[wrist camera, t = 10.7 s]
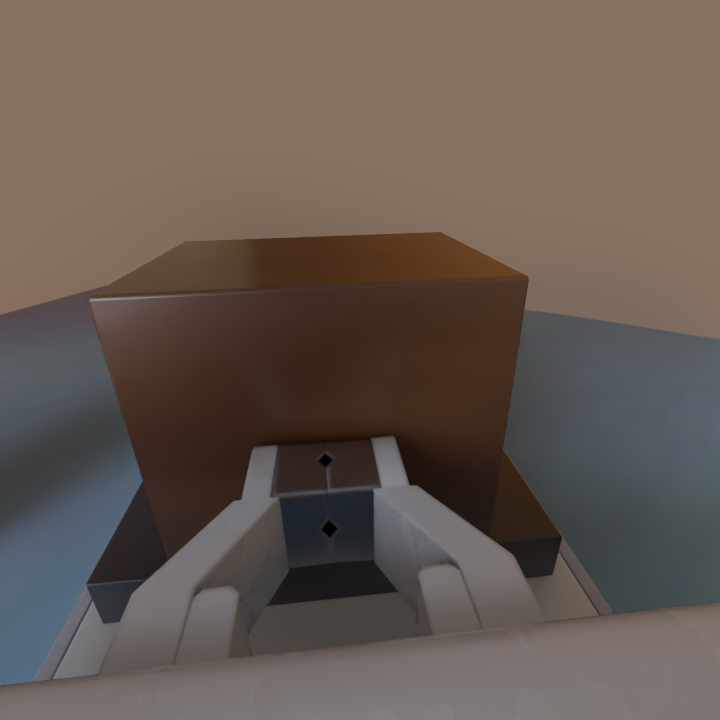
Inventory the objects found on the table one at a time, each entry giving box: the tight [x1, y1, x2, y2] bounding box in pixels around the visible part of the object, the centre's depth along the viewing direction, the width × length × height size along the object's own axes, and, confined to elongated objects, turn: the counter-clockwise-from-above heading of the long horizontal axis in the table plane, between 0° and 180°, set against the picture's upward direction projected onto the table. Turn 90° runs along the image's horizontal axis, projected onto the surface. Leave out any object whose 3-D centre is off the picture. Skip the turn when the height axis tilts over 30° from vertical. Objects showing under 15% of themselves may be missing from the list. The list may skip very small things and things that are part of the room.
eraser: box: [86, 232, 562, 624], centre depth 12 cm, size 12×6×8 cm, turn 96°
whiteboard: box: [33, 448, 614, 682], centre depth 16 cm, size 14×21×1 cm, turn 6°
